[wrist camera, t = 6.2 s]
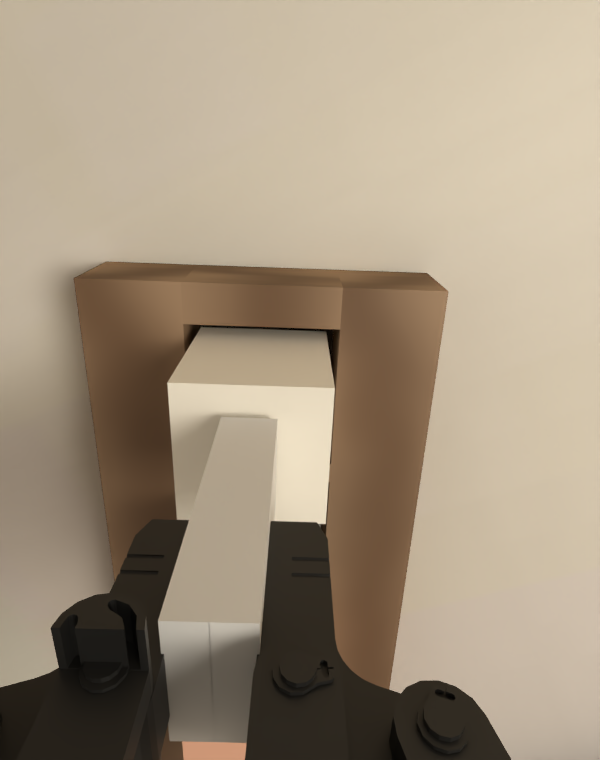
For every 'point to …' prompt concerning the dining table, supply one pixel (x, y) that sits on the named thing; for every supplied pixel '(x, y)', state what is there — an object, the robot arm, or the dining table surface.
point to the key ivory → (256, 410)
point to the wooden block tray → (350, 413)
